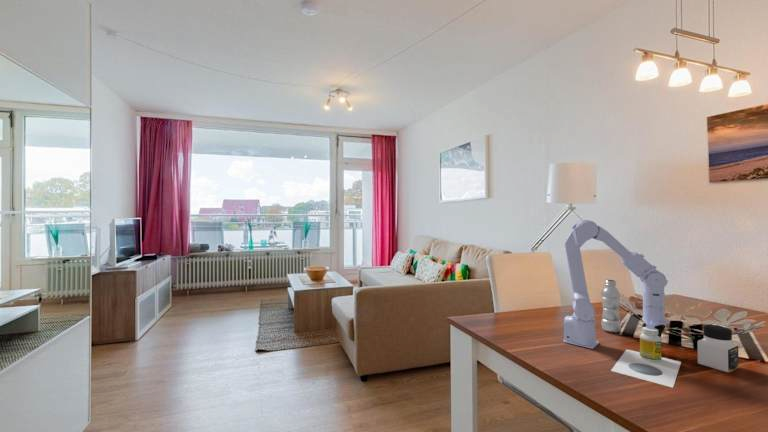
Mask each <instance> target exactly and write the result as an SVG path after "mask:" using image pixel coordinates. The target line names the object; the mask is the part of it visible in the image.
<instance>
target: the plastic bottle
mask: <svg viewBox="0 0 768 432" xmlns="http://www.w3.org/2000/svg"><path fill="white" fill-rule="evenodd" d="M600 295H601V301H602V302H601V303H602V318H601V322H600V323H601V328H602V330H604V331H606V332H610V333H619V332H620V331H621V328H622V324H621V320H620V311H619V310H620V300H621V292H620V291H619V290H618V288H617V281H616V279H605V280H604V287H603V289H602V290H601V292H600Z"/></svg>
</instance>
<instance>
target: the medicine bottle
mask: <svg viewBox="0 0 768 432" xmlns="http://www.w3.org/2000/svg"><path fill="white" fill-rule="evenodd" d="M732 332H733V331H732V329H731V328H730V327H727V326H725V325H720V324H715V323H714V324H713V323H711V324H710V323H708V324H705V325H703V338H701V339H698V340H697V342H696V343H697V364H699V365H702V366H705V367H708V368H711V369H715V370H718V371H721V372H725V373H727V374H728V373H731V372H733V371H735V370H737V369H739V365H740V364H739V344H738V343H735V342H733V339H732V338H733V334H732Z"/></svg>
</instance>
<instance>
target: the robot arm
mask: <svg viewBox="0 0 768 432" xmlns="http://www.w3.org/2000/svg"><path fill="white" fill-rule="evenodd" d="M591 239H594V240H596V241H599V242H602V243H604V244H605V245H606V246H608V248H610V249H611V250H612V251H613V252H614V253H616V254H617V255H618V256H619V257H620V258H621V264H622V265H623V266H625V267H626V268H627V269H628V270H629V271H631V272H632V273H633V274H634V275H635V276H636V277H637V278H639V280H640V281H641V282H642V318H641V319H642V321H643V323H642V328H643V327H646V328H648V329H658V333H659V334H658V336H659V337H660V338H661V339H662V335H663V332H664V330H665V328H666V325H670V322H671V321H670V320H667V319H666V310H665V309H666V306H665V305H666V304H665V302H666V297H665V295H666V293H665V287H666V286H667V285H668V281H669V280H668V279H667V278H666V277H667V276H666V275H665V274H664V273H663V272H661V271H659V270H657V269H656V268H657V266H656V265H655V264H651V263H650V262H649V261H648V260H647V259H645V255H643V253H639V252H638V251H637V252H636V251H630V250H629V249H628V248H626V247H625V246H624V245H623V244H622V243H621V242H620V241H619V240H618V239H617V238H616V237H614V235H612V234H611V233H610V232H609V231H608V230H606V229H605V228H603V227H602V226H600V225H598V224H597V223H596V222H595V221H592V220H589V219H582V220H578V221H577V223H575V224H574V225H573V226H572V227H571V230H570V232H569V234H568V235H567V237H566V239H565V241H564V249H565V254H566V259H567V265H568V271H569V276H570V277H569V278H570V282H571V290H572V296H573V300H572V302H571V307H572V309H573V313H572V314H571V315H566V316H565V317H564V321H563V342H564V343H568V344H571V345H575V346H580V347H583V348H587V349H592V350H593V349H595V348H596V346H598V345H599V344H600V342H599V341H598V340H596V318H595V316H596V310H595V307H594V306H593V305H592V302H591V300H590V299H591V298H590V296H589V295H590V294H589V291H588V287H587V280H586V275H585V271H584V270H585V268H584V263H583V258H582V253H581V247H582V246H583V245H584V244H585V243H586V242H587V241H589V240H591Z"/></svg>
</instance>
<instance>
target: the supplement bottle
mask: <svg viewBox="0 0 768 432" xmlns="http://www.w3.org/2000/svg"><path fill="white" fill-rule="evenodd" d="M641 331H642V332H641V334H640V335H639V352H640V356H641V358H642V359H644V360H647V361H651V362H660V361H661V359H662V358H661V357H662V337H661V338H660V337H659V336H658V334H659V333H658V329H648V328H646V327H643V326H642V328H641Z"/></svg>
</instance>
